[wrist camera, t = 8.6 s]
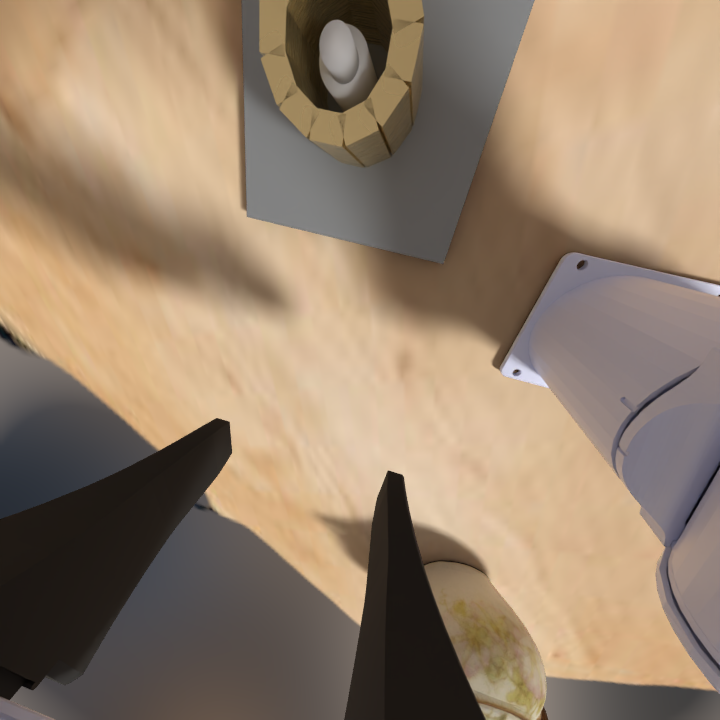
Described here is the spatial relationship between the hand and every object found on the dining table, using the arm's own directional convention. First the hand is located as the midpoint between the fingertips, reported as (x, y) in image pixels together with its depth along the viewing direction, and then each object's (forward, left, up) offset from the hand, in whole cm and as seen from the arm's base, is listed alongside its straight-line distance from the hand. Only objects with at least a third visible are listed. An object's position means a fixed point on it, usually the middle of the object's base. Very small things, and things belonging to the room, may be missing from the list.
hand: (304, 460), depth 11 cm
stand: (+2, -14, -10) cm, 17 cm away
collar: (+2, -14, -9) cm, 17 cm away
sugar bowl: (-18, +27, -10) cm, 34 cm away
